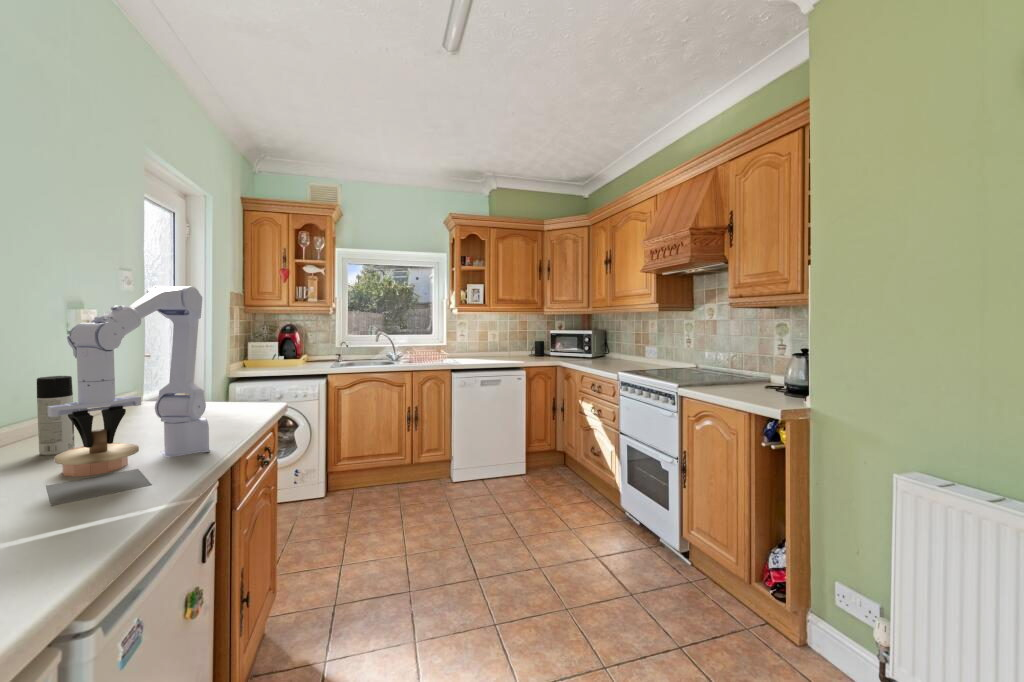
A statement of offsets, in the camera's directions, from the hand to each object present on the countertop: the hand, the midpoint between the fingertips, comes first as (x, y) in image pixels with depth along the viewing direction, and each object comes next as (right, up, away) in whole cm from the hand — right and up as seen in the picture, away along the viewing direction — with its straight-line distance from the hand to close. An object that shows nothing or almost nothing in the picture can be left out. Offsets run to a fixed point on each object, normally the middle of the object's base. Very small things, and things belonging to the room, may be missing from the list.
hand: (98, 444), depth 95 cm
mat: (0, -9, 0) cm, 9 cm away
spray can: (-33, -8, +25) cm, 42 cm away
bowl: (-11, -9, +11) cm, 18 cm away
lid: (0, -2, 0) cm, 2 cm away
